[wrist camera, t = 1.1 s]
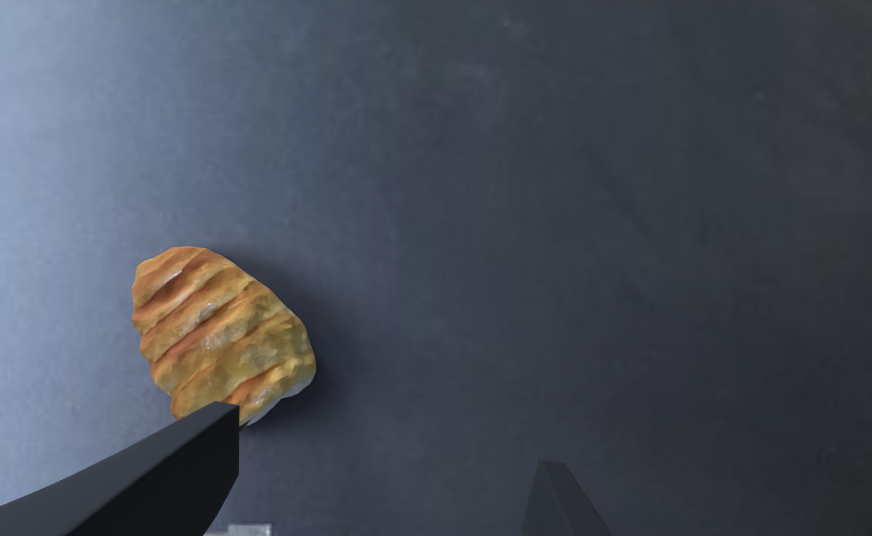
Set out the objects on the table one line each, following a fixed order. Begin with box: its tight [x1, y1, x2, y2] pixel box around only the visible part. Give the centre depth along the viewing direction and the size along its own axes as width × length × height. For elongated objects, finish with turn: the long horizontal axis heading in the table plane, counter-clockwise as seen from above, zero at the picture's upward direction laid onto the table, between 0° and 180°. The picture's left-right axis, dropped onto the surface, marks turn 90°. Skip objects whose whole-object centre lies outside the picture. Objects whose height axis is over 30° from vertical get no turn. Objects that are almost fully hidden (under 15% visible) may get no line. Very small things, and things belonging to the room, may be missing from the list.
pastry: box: [132, 246, 316, 433], centre depth 21 cm, size 9×7×4 cm
